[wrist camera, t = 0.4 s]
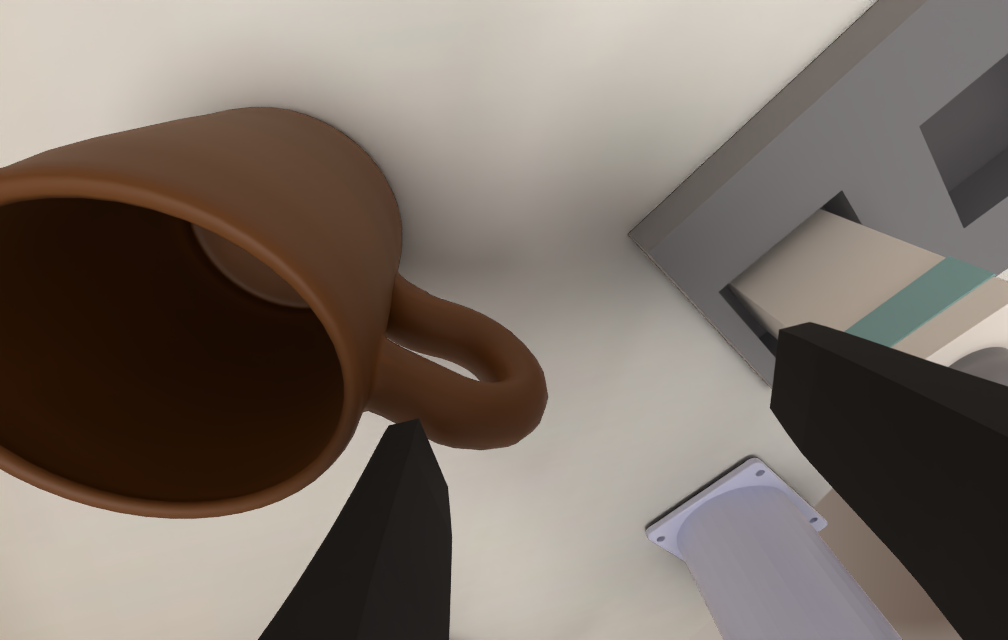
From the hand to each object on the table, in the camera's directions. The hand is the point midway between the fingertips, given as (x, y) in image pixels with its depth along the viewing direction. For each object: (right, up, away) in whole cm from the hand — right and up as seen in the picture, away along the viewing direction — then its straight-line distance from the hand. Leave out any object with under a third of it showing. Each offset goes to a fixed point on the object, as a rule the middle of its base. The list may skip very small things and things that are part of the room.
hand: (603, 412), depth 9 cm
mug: (-7, +5, +8) cm, 12 cm away
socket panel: (+12, +7, +9) cm, 17 cm away
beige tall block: (+10, +4, +10) cm, 14 cm away
